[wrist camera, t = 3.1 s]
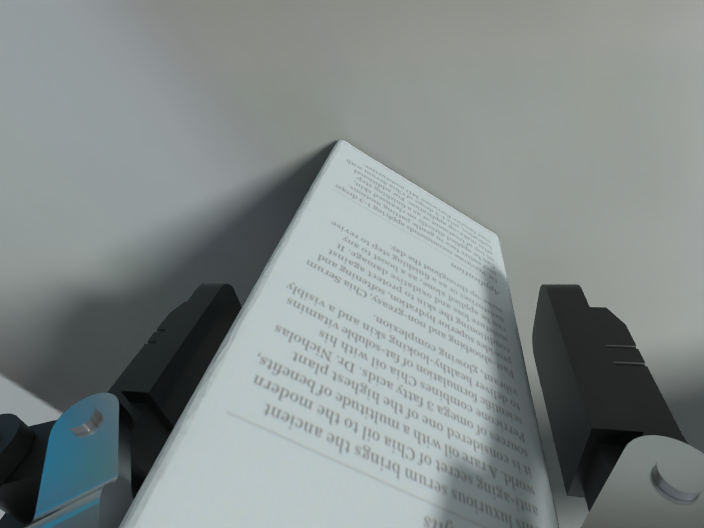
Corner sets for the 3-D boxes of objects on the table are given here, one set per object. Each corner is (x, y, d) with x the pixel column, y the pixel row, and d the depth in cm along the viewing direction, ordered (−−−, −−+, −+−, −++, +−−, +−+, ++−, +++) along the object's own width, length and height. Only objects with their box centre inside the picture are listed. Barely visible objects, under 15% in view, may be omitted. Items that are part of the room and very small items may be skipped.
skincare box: (286, 233, 14) (-35, 780, 5) (341, 132, 11) (-130, 906, 2) (426, 311, 15) (400, 888, 6) (505, 236, 12) (702, 1062, 3)
